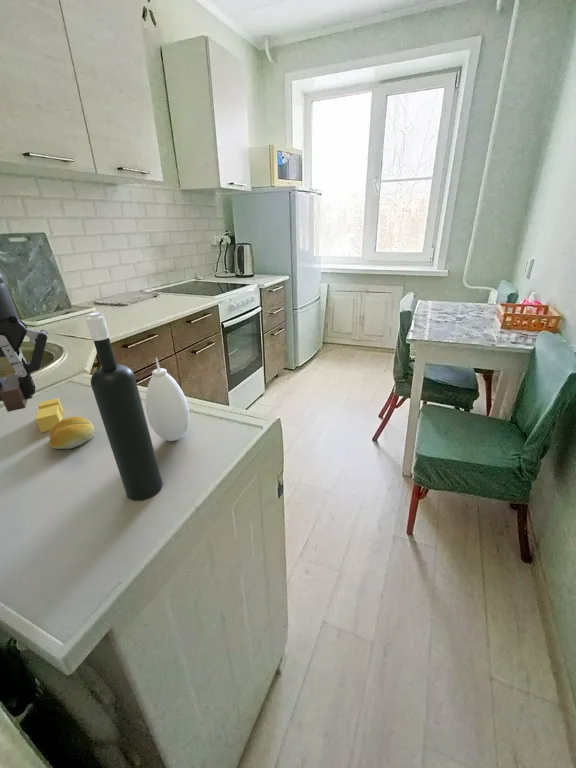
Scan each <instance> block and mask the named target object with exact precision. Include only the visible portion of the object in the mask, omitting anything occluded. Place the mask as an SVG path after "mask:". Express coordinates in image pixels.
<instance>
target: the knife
mask: <svg viewBox="0 0 576 768" xmlns="http://www.w3.org/2000/svg"><path fill="white" fill-rule="evenodd" d="M23 358H24V360H25V362H26V363H27V361H26V357H23ZM4 380H5V382H4V384H3V386H2V388H1V390H0V396H1V398H2V400H3V401H2V403H3V404H4V407H5V409H6V411H7V413H10V412H14V411H18V410H23V409H26V407H27V404H28V401H29V399H26V397H25V395H24V392H23V390H22V387H21V385H20V383H19V381H18V375H17V373H16V371H15V372H14V374H9V375H6V378H4Z"/></svg>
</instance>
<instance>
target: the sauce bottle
mask: <svg viewBox="0 0 576 768" xmlns="http://www.w3.org/2000/svg"><path fill="white" fill-rule="evenodd" d="M155 364H156V369H153V370H152V371H151V375H152V376H151V377H150V378H149V382H148V385H147V388H146V393H145V413H146V416H147V419H148V423H149V425H150V427H151V429H152V430H153V432H154V433H155V434H156V435H157V437H159V438H160V439H162V440H165V441H167V442H174V441H177V440H179V439H181V438H182V437H183V436H184V435H185V434H186V432H187V431H188V428H189V424H190V418H191V416H190V415H191V414H190V409H189V404H188V403H189V402H188V400H187V397H186V395H185V393H184V391H183V389H182V388H181V386H180V385H179V384H178V382H177V381H176V380H175V379H174V377H173V376H171V375H170V374H169V373H168V370H167V369H166V368H163V367H161V366H160V362H159V359H158V357H155Z"/></svg>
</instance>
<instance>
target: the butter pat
mask: <svg viewBox="0 0 576 768" xmlns="http://www.w3.org/2000/svg"><path fill="white" fill-rule="evenodd" d="M55 405H58V406H59V409H60V412H61V414H62V416H64V409H63V405H62V403H61V401H60V398H59V397H56V398H51V399H47V400H42V401H39V402H38V406H37V407H38V409H42V408H47V407H51V406H55Z"/></svg>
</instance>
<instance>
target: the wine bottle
mask: <svg viewBox="0 0 576 768" xmlns="http://www.w3.org/2000/svg"><path fill="white" fill-rule="evenodd" d="M84 317H85V320H86V323H87V326H88V330H89V334H90V337H91V340H92V341H93V343H94V347H95V350H96V354H97V357H98V362H99V364H100V367H99V368H98V369H97V370H95V371H94V372H93V373H92V375H91V376H90V386H91V389H92V392H93V395H94V398H95V402H96V405H97V408H98V411H99V414H100V417H101V421H102V423H103V426H104V430H105V433H106V435H107V439H108V442H109V445H110V448H111V452H112V454H113V457H114V460H115V464H116V467H117V470H118V474H119V476H120V479H121V482H122V486H123V488H124V491H125V495H126V497H127V498H128V499H129V500H131V501H135V502H139V501H146V500H148V499H151V498H152V497H154V496H156V495H157V494H159V492H160V491H161V489H162V487H163V480H162V476H161V472H160V469H159V464H158V460H157V457H156V453H155V449H154V446H153V445H154V444H153V442H152V437H151V435H150V431H149V430H150V429H149V426H148V422H147V418H146V415H145V410H144V407H143V403H142V399H141V396H140V395H141V394H140V392H139V388H138V383H137V380H136V375H135V373H134V371H133V370H132V369H131V367H129V366H127V365H124V364H120V363H119V364H118V363H117V361H116V357H115V354H114V349H113V346H112V343H111V340H110V337H111V336H110V332H109V330H108V325H107V322H106V318H105V315H104V312H97V311H96V312H91V313H88V314H84Z"/></svg>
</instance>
